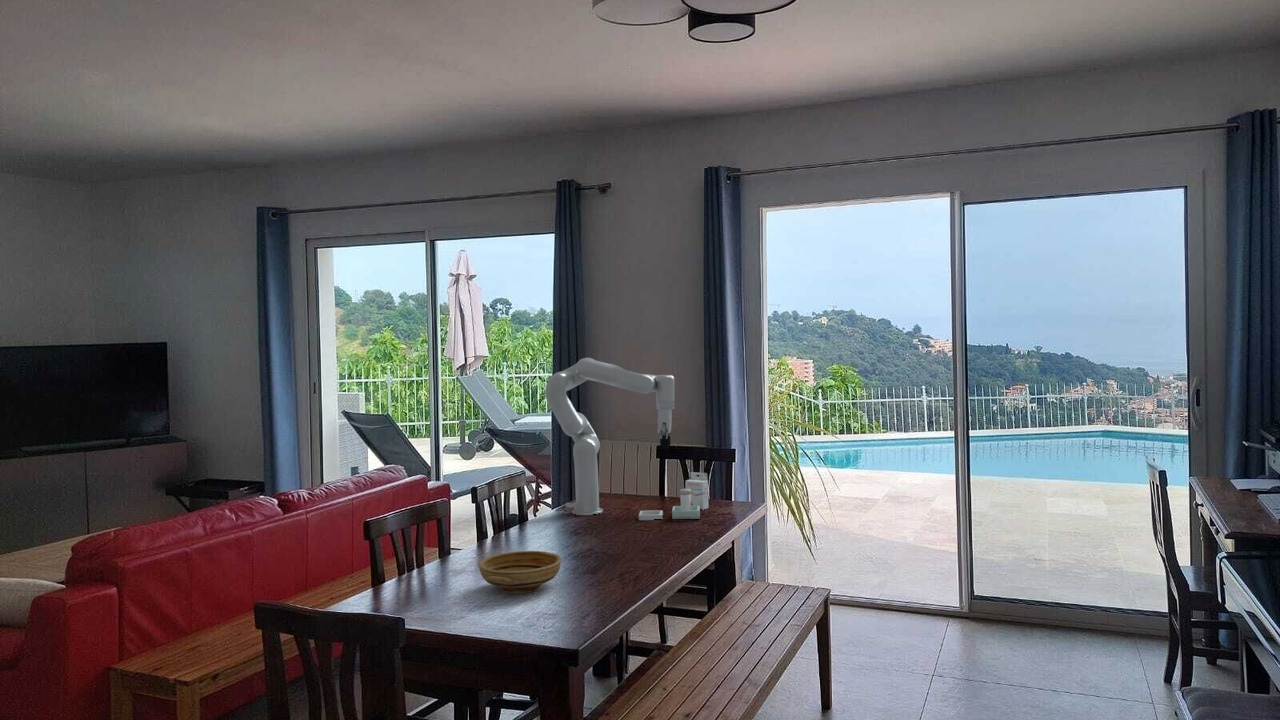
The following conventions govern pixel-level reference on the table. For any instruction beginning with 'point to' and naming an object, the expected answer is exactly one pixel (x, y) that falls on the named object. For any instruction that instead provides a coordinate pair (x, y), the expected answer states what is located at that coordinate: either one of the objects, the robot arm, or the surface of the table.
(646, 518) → the white square dish
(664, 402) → the robot arm
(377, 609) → the table surface
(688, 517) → the tray
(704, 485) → the ink cartridge box
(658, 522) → the table surface
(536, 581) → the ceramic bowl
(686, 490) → the fuse
